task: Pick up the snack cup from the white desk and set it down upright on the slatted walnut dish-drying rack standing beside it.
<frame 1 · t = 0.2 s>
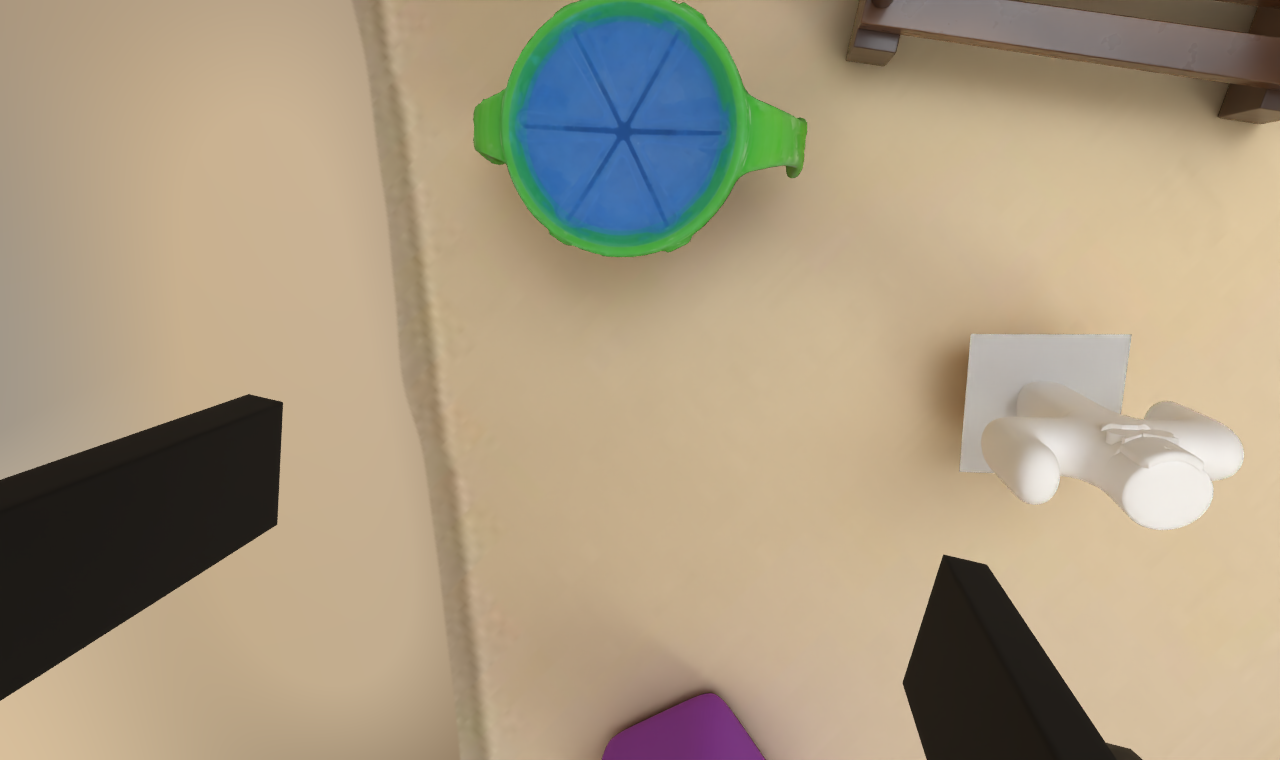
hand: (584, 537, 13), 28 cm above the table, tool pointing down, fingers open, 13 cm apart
snack cup: (655, 151, 39), on the table
figurine: (1014, 387, 38), on the table
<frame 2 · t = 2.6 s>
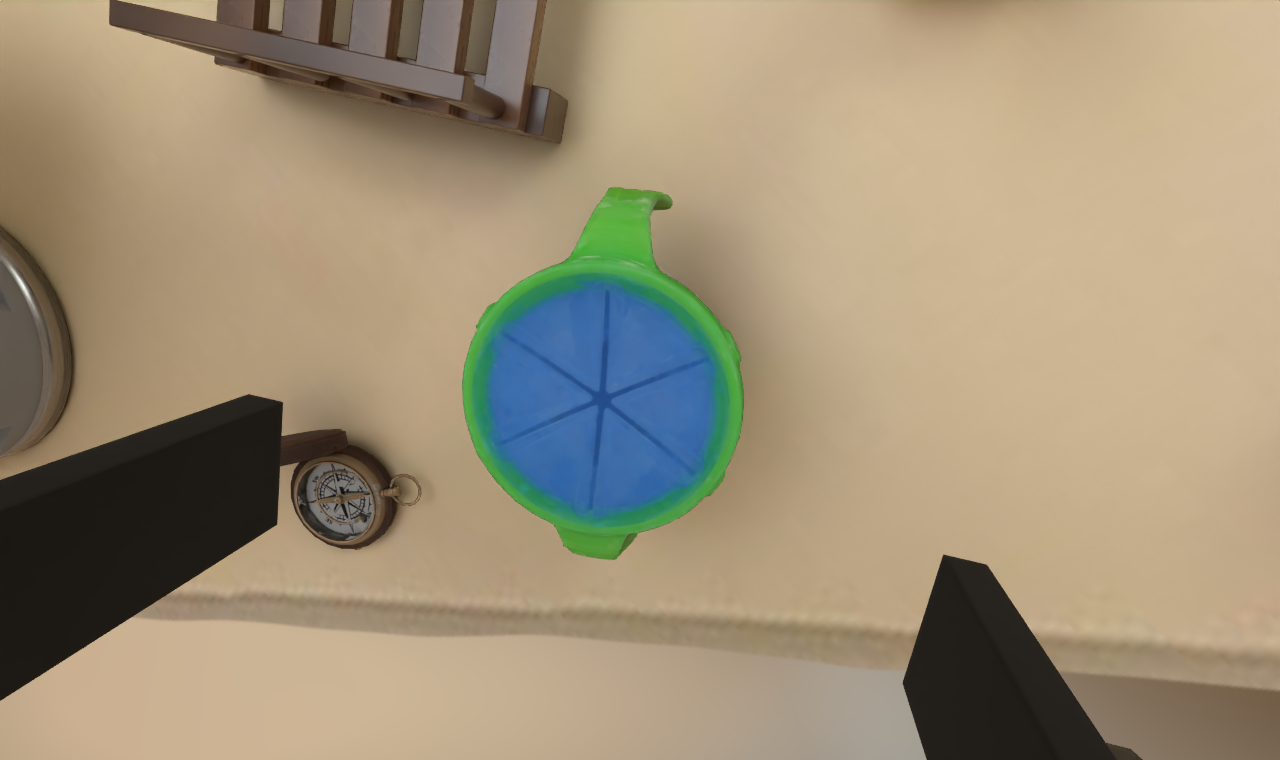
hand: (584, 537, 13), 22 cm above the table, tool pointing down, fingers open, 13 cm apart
snack cup: (641, 352, 35), on the table
compass: (362, 476, 39), on the table
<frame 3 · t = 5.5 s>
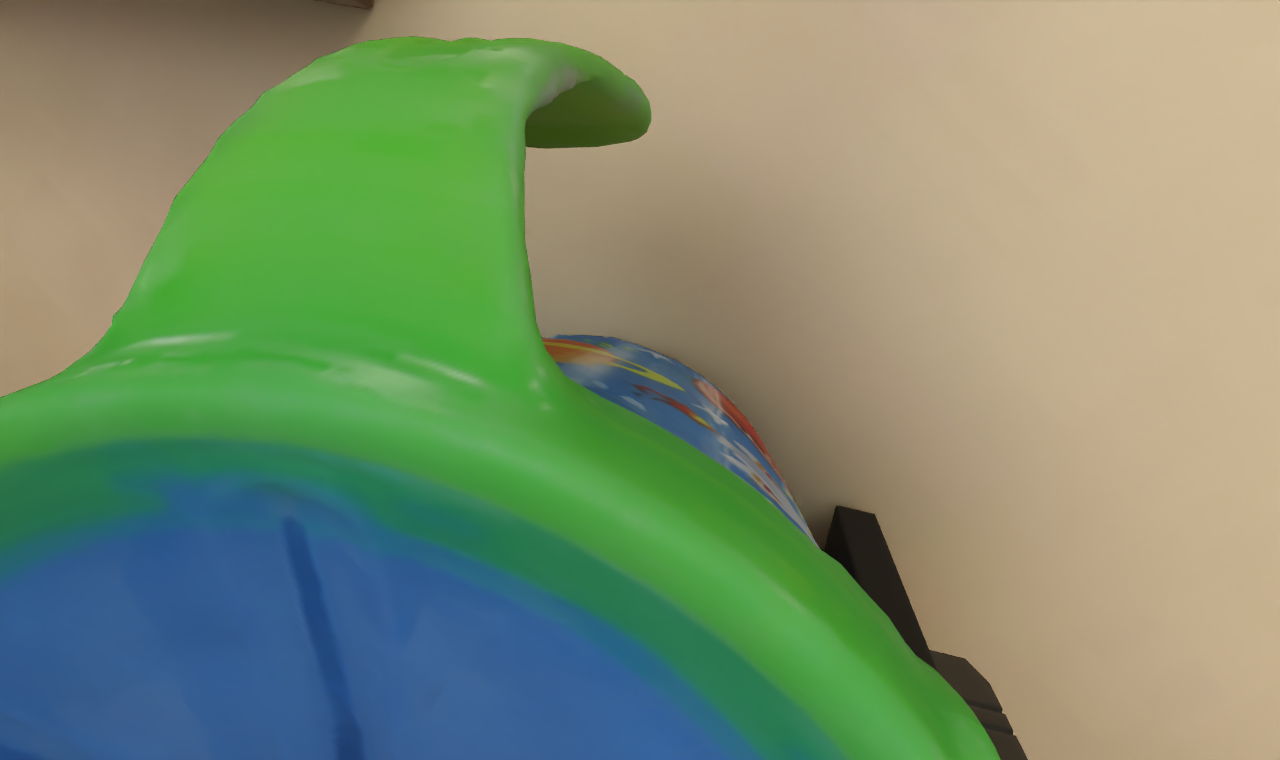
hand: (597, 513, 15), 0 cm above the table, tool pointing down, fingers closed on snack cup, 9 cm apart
snack cup: (602, 502, 15), on the table, touching gripper
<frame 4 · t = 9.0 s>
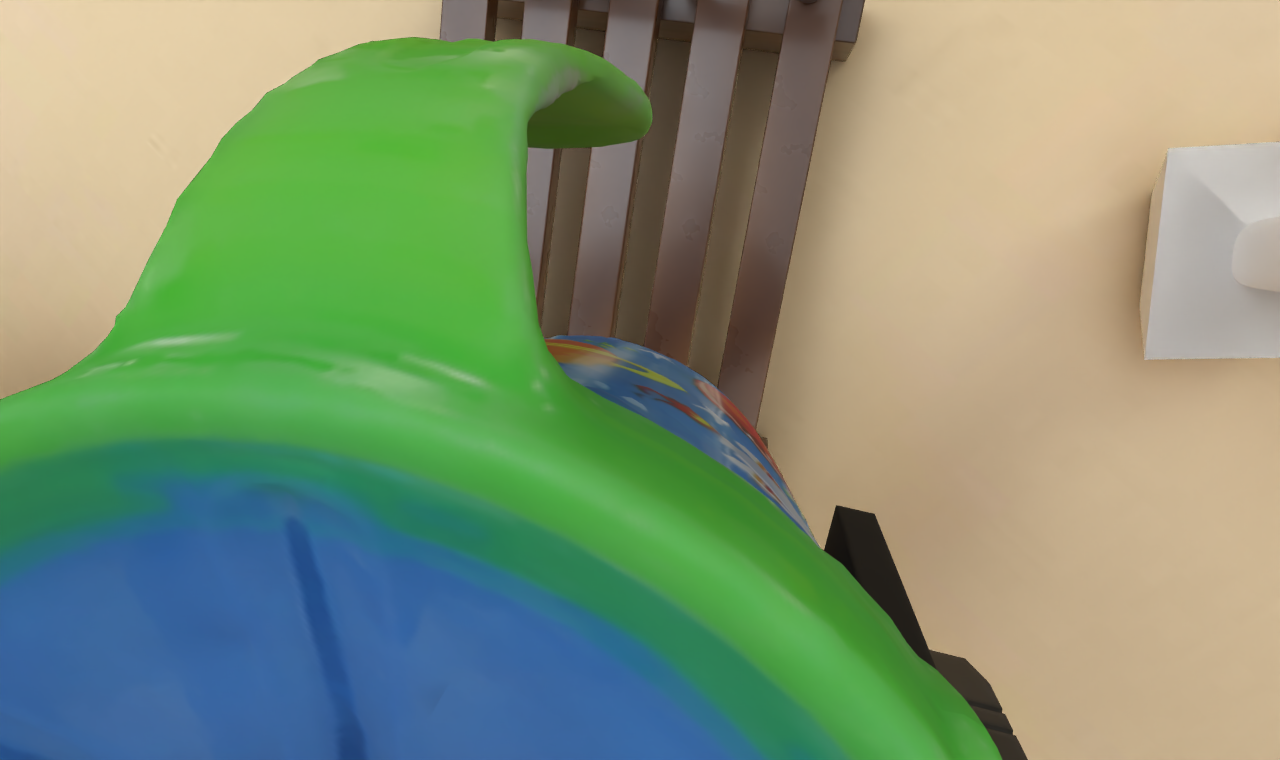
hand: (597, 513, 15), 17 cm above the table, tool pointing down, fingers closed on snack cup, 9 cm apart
snack cup: (602, 502, 15), point 17 cm above the table, touching gripper
figurine: (1203, 248, 27), on the table
dish rack: (621, 233, 31), on the table
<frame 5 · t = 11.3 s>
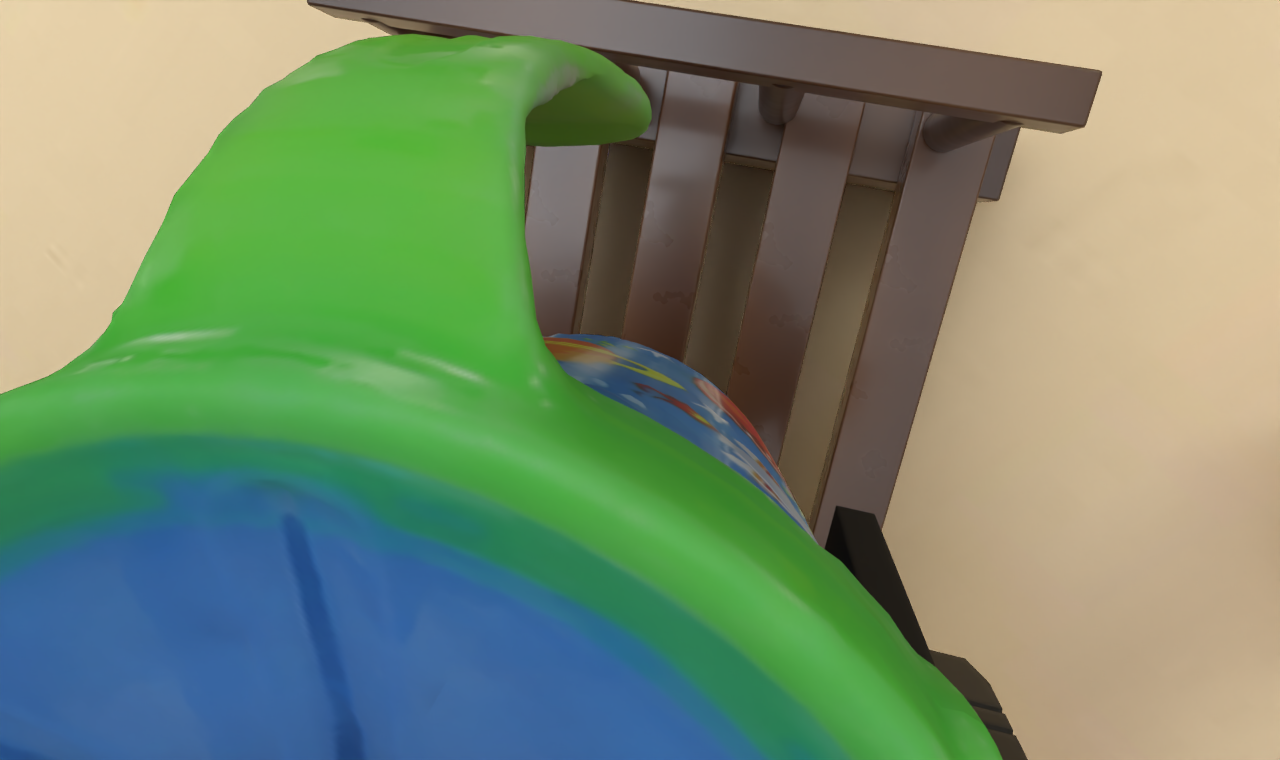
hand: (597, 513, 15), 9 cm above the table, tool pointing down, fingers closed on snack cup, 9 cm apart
snack cup: (602, 501, 15), point 9 cm above the table, touching gripper
dish rack: (654, 402, 23), on the table
when the fingers open (4 cm above the table, at t = 13.0 s): snack cup stays where it is, resting on dish rack.
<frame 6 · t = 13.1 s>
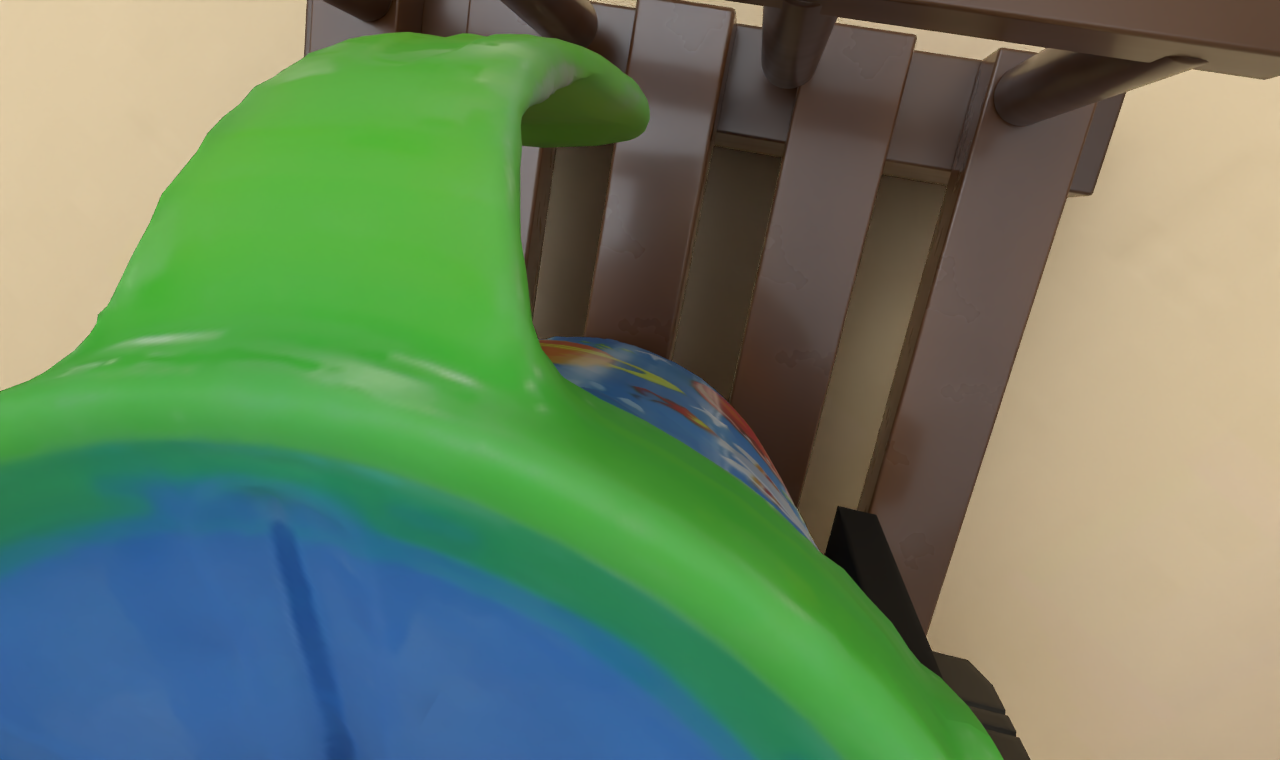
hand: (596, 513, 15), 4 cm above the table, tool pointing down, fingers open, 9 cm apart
snack cup: (599, 505, 15), point 4 cm above the table, touching dish rack
dish rack: (629, 450, 19), on the table
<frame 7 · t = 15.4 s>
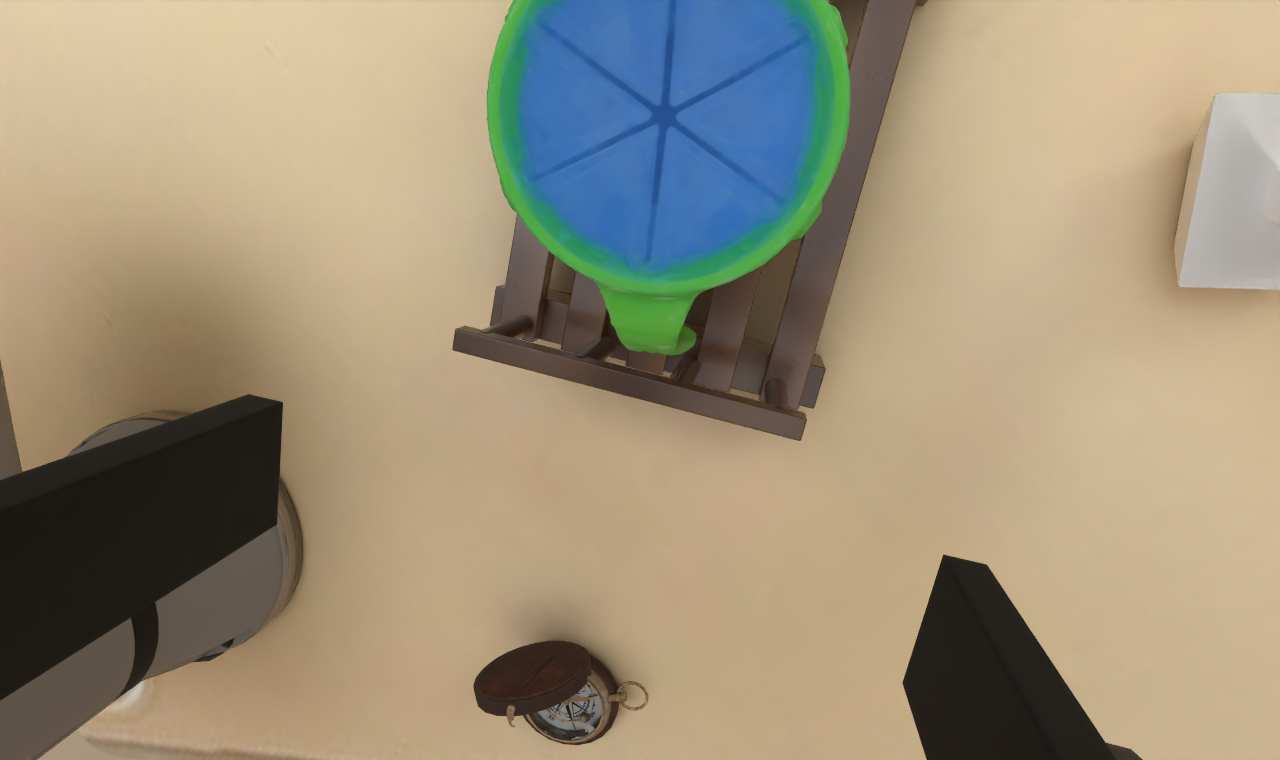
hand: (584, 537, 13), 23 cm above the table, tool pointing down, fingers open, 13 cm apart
snack cup: (694, 147, 30), point 4 cm above the table, touching dish rack
compass: (583, 675, 41), on the table
figurine: (1236, 197, 30), on the table
dish rack: (702, 156, 33), on the table
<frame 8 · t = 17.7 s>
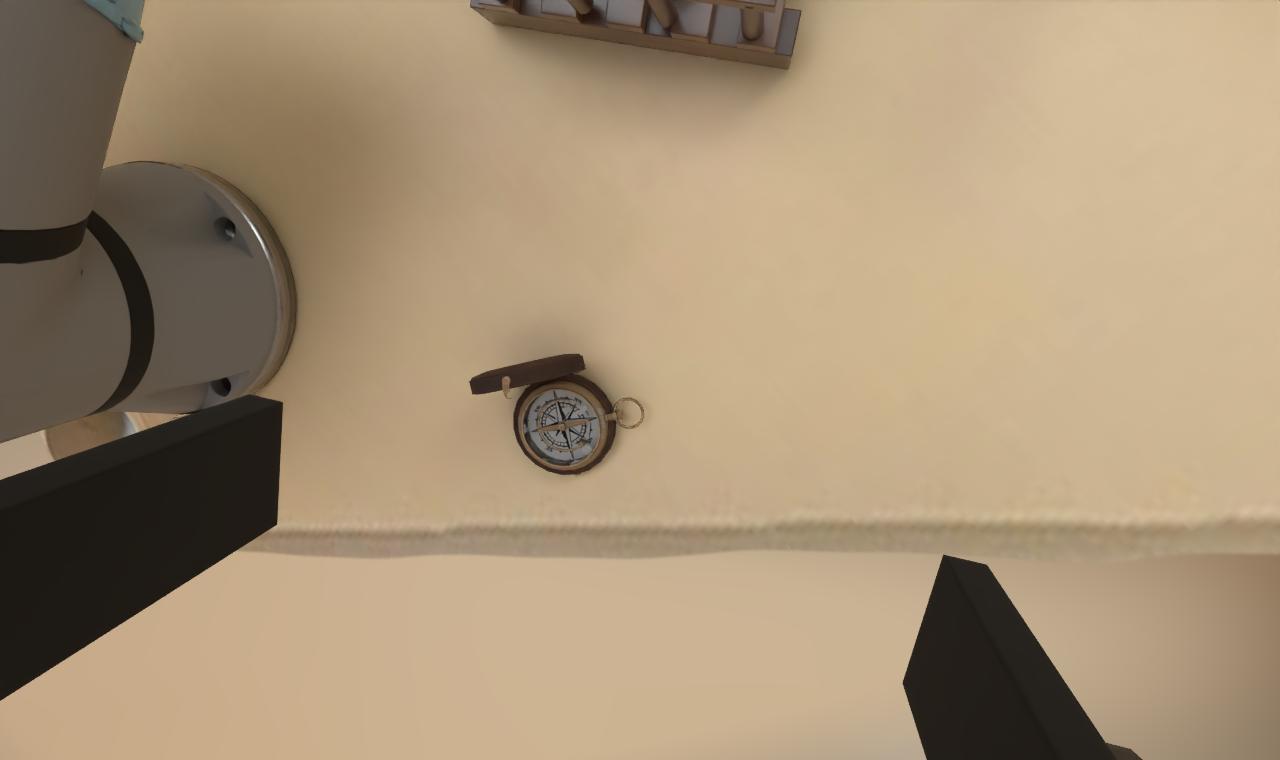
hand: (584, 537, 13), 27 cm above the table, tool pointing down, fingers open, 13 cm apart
compass: (579, 405, 41), on the table
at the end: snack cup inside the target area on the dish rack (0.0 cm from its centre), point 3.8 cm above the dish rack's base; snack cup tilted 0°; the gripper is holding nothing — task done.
